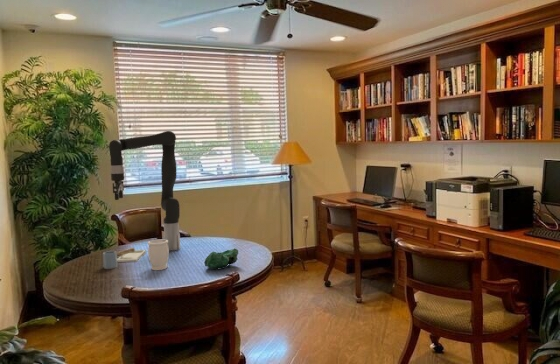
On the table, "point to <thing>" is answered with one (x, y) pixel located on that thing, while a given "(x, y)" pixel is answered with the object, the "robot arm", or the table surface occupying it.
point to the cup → (110, 259)
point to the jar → (158, 254)
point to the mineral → (221, 259)
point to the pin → (125, 251)
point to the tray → (131, 256)
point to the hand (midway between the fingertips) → (119, 198)
